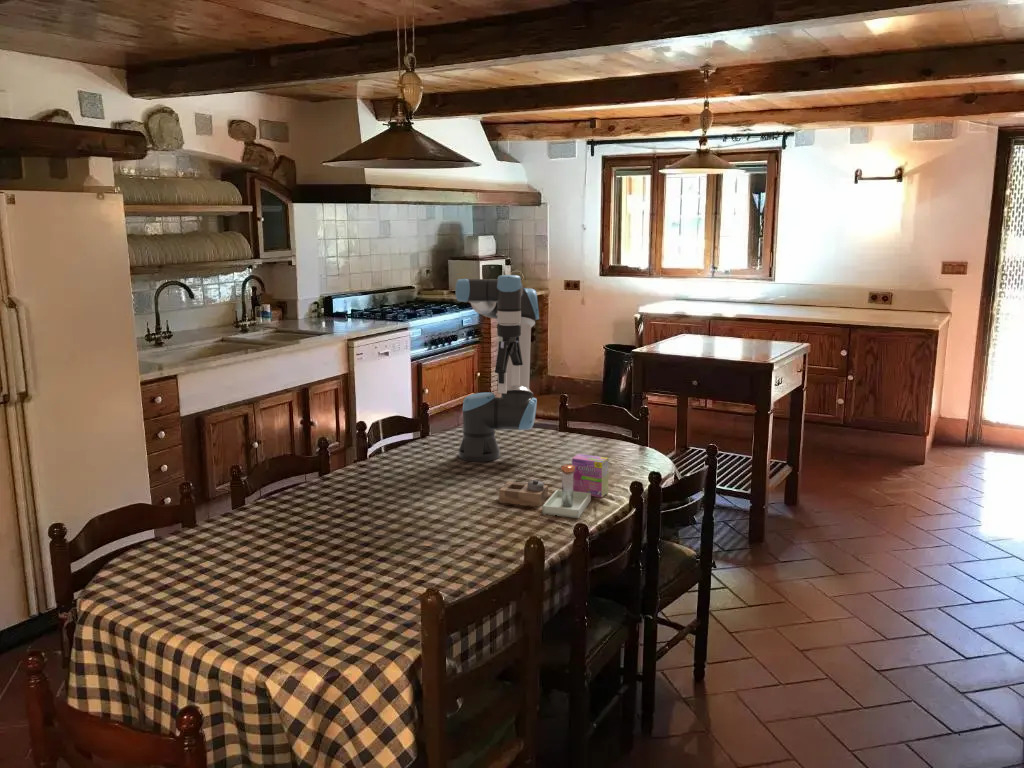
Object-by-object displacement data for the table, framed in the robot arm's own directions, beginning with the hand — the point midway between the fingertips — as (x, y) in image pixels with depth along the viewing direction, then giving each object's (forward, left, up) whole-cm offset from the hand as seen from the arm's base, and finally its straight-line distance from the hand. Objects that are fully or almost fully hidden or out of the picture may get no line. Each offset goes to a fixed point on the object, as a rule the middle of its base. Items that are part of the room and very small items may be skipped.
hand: (509, 389), depth 266 cm
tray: (+17, +24, -32) cm, 43 cm away
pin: (+17, +24, -31) cm, 43 cm away
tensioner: (+15, +10, -32) cm, 36 cm away
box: (+2, +28, -32) cm, 42 cm away
